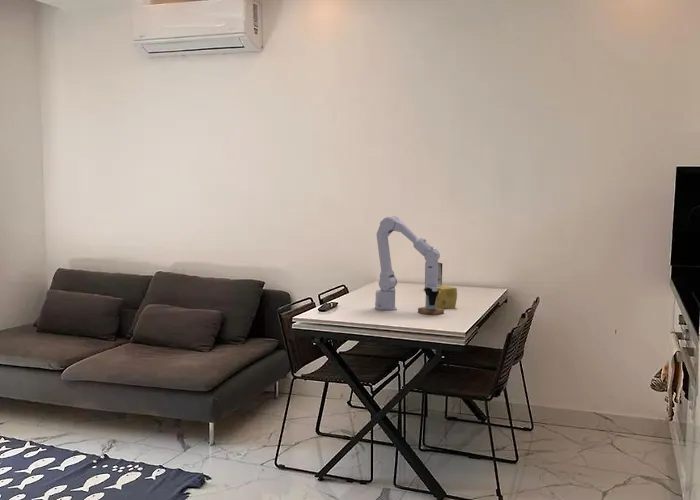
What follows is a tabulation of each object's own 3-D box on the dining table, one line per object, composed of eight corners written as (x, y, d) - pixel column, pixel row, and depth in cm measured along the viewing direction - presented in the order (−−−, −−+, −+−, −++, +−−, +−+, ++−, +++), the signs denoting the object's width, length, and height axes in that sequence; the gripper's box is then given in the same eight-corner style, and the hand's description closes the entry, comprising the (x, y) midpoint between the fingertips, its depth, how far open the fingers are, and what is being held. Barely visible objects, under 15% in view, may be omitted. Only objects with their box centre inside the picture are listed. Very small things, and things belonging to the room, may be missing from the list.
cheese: (436, 309, 323) (437, 288, 322) (428, 305, 333) (429, 285, 332) (456, 308, 326) (457, 288, 325) (447, 304, 336) (448, 284, 335)
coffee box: (442, 291, 377) (443, 263, 375) (432, 292, 374) (433, 263, 372) (433, 289, 385) (434, 261, 383) (424, 289, 382) (424, 261, 381)
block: (427, 309, 311) (427, 296, 311) (425, 307, 315) (425, 295, 315) (435, 309, 312) (436, 296, 311) (433, 307, 316) (434, 295, 315)
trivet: (420, 314, 307) (420, 311, 307) (415, 310, 319) (415, 306, 319) (446, 314, 308) (446, 311, 308) (440, 310, 320) (440, 306, 320)
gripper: (443, 277, 305) (442, 307, 306) (436, 273, 320) (436, 301, 321) (428, 277, 305) (427, 307, 306) (422, 273, 319) (421, 301, 320)
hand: (431, 304), depth 313 cm, fingers closed on block, 4 cm apart
